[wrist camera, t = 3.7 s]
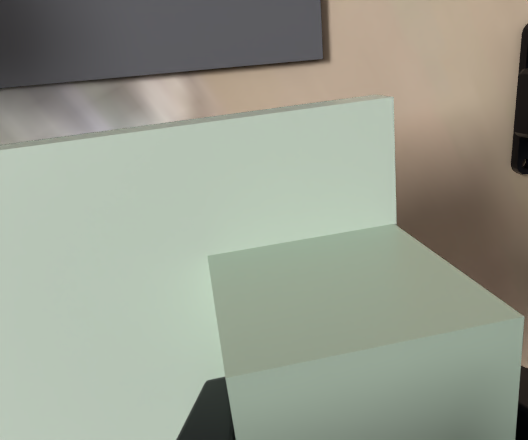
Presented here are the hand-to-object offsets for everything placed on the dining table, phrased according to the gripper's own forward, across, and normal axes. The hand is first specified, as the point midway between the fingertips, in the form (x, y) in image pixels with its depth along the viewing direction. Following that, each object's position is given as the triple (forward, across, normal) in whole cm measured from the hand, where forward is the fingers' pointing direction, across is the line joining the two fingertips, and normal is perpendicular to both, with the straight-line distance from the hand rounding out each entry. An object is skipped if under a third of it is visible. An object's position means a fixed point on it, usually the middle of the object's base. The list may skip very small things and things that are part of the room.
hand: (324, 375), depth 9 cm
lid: (+2, +4, 0) cm, 5 cm away
